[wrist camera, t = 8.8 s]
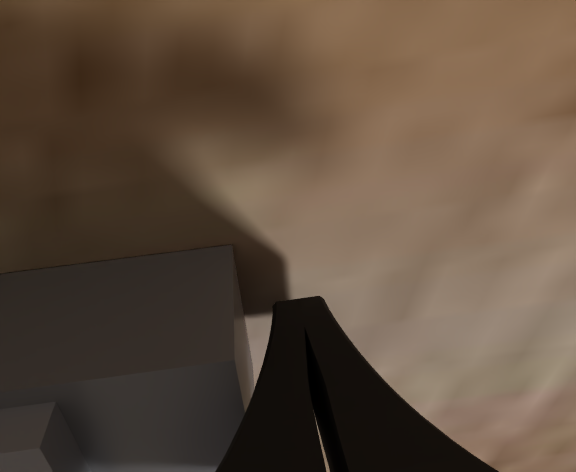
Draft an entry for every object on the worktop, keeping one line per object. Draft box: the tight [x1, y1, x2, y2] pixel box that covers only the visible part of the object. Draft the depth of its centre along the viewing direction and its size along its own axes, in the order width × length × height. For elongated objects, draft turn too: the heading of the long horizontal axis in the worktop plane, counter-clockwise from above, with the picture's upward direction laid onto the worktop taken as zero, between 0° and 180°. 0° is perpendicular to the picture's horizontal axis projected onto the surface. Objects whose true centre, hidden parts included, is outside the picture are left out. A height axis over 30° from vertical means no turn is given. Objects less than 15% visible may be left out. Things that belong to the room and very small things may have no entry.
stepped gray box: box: [0, 245, 254, 472], centre depth 12 cm, size 4×7×5 cm, turn 95°
